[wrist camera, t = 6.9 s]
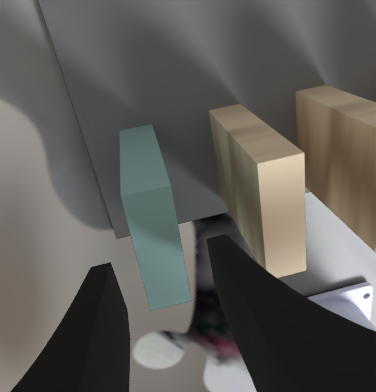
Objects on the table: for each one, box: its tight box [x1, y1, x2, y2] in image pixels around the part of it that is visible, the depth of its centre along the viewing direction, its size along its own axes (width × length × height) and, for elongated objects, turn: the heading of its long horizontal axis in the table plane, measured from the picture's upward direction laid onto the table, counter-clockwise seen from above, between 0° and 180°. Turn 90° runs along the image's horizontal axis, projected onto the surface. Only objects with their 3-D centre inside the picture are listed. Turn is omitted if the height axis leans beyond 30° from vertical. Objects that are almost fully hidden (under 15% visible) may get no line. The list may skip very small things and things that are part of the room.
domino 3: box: [296, 85, 376, 252], centre depth 16 cm, size 5×2×7 cm, turn 10°
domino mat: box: [38, 0, 376, 239], centre depth 18 cm, size 12×22×1 cm, turn 100°
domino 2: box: [209, 104, 306, 278], centre depth 16 cm, size 5×2×7 cm, turn 10°
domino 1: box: [119, 124, 192, 311], centre depth 16 cm, size 5×2×7 cm, turn 8°
